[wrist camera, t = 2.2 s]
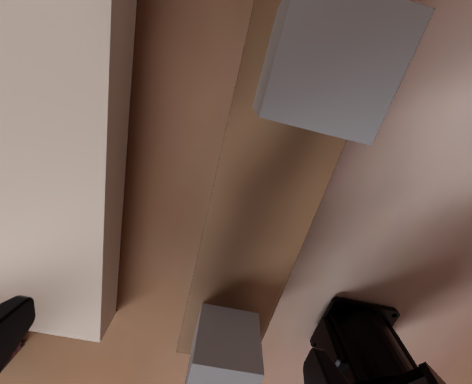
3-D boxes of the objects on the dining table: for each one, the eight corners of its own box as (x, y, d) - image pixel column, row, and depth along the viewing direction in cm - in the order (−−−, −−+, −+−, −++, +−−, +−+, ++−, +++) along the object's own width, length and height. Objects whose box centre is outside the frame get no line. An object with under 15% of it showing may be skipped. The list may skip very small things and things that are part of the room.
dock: (144, -117, 12) (116, -178, 9) (115, 312, 24) (99, 343, 21) (-100, -196, 11) (-215, -292, 8) (-5, 291, 23) (-40, 320, 20)
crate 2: (367, 34, 11) (435, 8, 7) (331, 127, 12) (371, 145, 8) (277, 8, 10) (299, -35, 7) (252, 107, 12) (258, 117, 8)
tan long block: (353, 26, 15) (405, 0, 10) (249, 311, 24) (252, 364, 19) (256, -3, 14) (264, -45, 10) (188, 299, 24) (176, 351, 19)
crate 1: (258, 313, 17) (264, 375, 14) (244, 350, 19) (245, 414, 15) (202, 302, 17) (192, 363, 13) (192, 341, 18) (181, 405, 15)
